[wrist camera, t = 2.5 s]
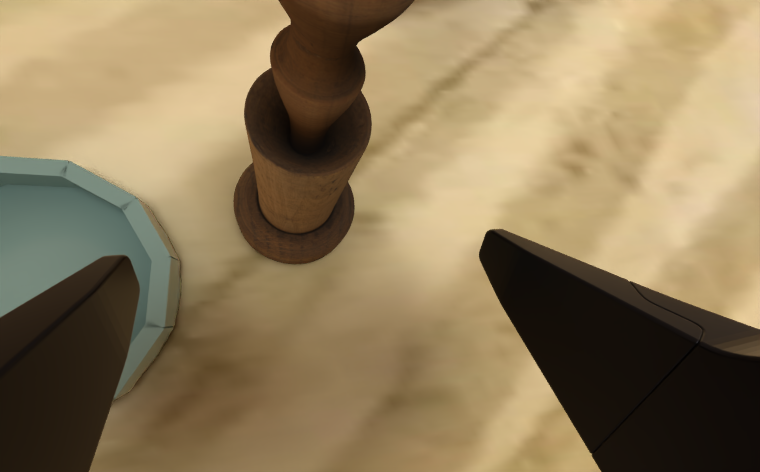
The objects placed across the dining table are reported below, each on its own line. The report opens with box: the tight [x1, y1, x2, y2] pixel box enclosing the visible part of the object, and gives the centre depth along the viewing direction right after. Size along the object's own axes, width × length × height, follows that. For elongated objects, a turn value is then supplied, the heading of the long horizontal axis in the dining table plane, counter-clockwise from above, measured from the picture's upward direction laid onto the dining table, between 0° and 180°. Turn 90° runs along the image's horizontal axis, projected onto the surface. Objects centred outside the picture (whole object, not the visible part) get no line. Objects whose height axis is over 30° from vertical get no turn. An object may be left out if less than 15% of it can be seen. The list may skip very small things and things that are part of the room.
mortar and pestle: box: [234, 0, 414, 264], centre depth 12 cm, size 7×6×18 cm
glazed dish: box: [0, 156, 181, 402], centre depth 15 cm, size 13×13×2 cm
